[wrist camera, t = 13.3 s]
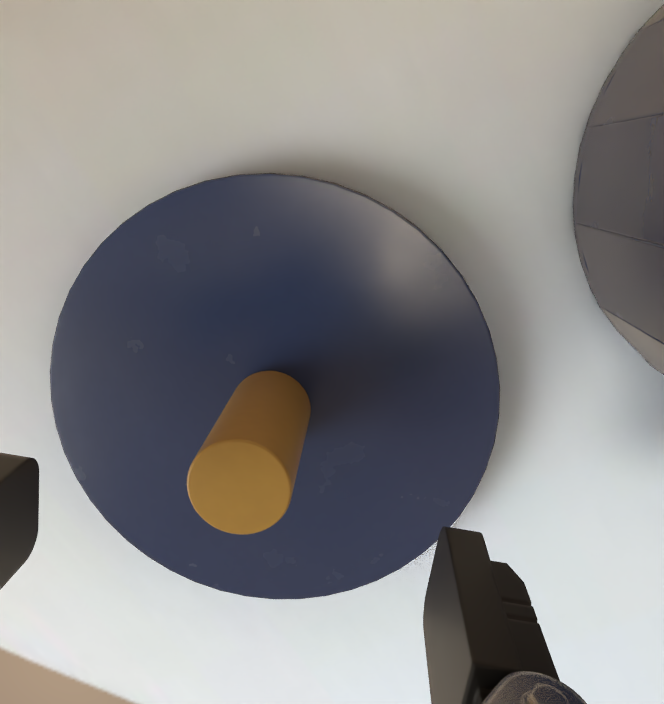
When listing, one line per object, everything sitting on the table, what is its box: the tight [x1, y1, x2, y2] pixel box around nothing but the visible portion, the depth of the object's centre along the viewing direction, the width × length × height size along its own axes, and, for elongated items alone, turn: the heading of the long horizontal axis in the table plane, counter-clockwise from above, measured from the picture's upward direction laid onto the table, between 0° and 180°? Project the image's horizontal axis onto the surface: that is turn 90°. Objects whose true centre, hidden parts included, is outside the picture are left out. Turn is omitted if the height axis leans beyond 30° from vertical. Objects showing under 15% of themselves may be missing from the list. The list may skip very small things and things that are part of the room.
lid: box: [50, 173, 500, 599], centre depth 17 cm, size 14×14×6 cm
